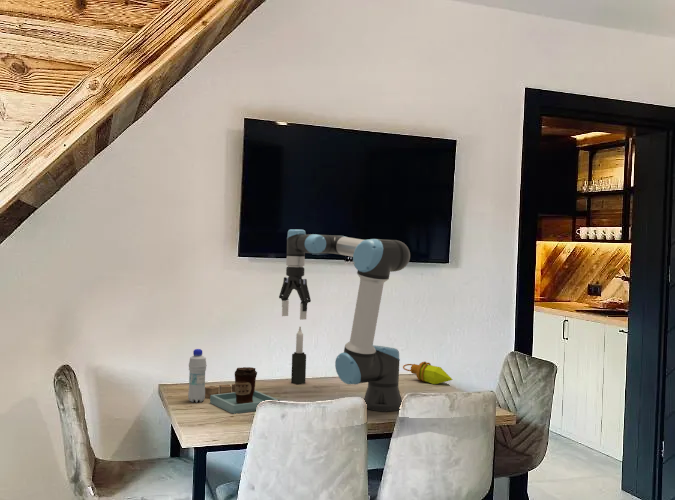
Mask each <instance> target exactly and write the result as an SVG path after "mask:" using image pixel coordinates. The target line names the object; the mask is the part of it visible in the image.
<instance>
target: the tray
mask: <svg viewBox="0 0 675 500" xmlns="http://www.w3.org/2000/svg"><path fill="white" fill-rule="evenodd" d="M209 400H210V401H209V403H210V404H211V405H213V406H216V407H218V408H219V409H222V410H224V411H227V412H228V413H230V414H232V413H233V414H232V415H237V414H236V413H238V414H245V413H250V412H251V413H253V412H256V411H255V410H256V407H257V405H258V404H259V403H260V402H262V401H265V400H278V401H279V402H280V399H278V398H276V397H273V396H271V395H268V394H265V393H264V392H261V391H258V390H256V389H255V391H254V393H253V402H252V403H244V404H239V403H236V393H235V392H233V393H232V392H231V393H224V394H215V395H210V398H209ZM234 413H235V414H234Z"/></svg>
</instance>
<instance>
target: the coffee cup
mask: <svg viewBox="0 0 675 500" xmlns="http://www.w3.org/2000/svg"><path fill="white" fill-rule="evenodd" d="M257 375H258V371H257V370H256V368H255V367H249V366H247V367H246V366H245V367H237V368H236V369H235V371H234V384H235V393H236V403H239V404H244V403H252V402H253V393H254V391H255V390H256V389H255V388H256V381H257V380H256V378H257Z"/></svg>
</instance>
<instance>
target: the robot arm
mask: <svg viewBox="0 0 675 500" xmlns="http://www.w3.org/2000/svg"><path fill="white" fill-rule="evenodd" d="M306 254H334V255H341V256H346V257H347V256H348V257H351V258H352V262H353V263H354V264H353V265H354V268H355V269H356V270H357V271H356V274H357V276H358V278H359V285H358V292H357V296H356V297H357V298H356V303H355V309H354V315H353V321H352V326H351V334H350V338H349V341H348V342H346V343H345V344H344V349H343V352H341V353H339V354H338V355H337V356H336V358H335V362H334V363H335V365H334V366H335V372H336V374H337V375H338V378H339V380H340V381H342V383H344V384H345V385H346V384H347V385H359V384H365V383H367V388H366V390H365V394H364V397H363V399H364V400H365V402H366V404H367V408H368V409H367V410H370V411H375V412H397V411H400V410H399V407H400V405H401V402H402V403H403V400H402V396H401V392H400V388H399V380H400V378H399V377H400V361H401V358H400V352H399V350H398V348H396V347H389V346H384V345H374V340H375V335H376V329H377V323H378V319H379V318H378V317H379V313H380V306H381V301H382V294H383V288H384V285H385V283H386V282H387V281H388V280H390V274H391V273H392V272H398V271H399V272H400V271H402V270H403V269H404V268H406V266H408V264H409V263H410V259H411V252H410V249H409V247H408V246H407V244H405V242H402V241H400V240H397V239H380V238H370V239H361V238H355V237H348V236H344V235H339V234H338V235H335V234H334V235H331V234H330V235H329V234H316V233H315V234H314V233H312V234H311V233H310V234H309V233H308V234H307V233H306V230H304V229H288V231H287V237H286V268H285V269H286V270H285V271H286V272H285V275H286V276H285V277H283V283H282V286H281V289H280V293H279V295H278V298H279V299H280V300H281V317H288V316H289V307H290V305H289V303H290V302H289V297H290V296H291V293H292V292H293V290H295V291H296V292H297V295H298V297H299V300H300V304H299V307H300V308H299V320H307V316H308V315H307V313H308V304H309V303H311V301H312V300H311V296H310V292H309V288H308V280H307V278H303V277H304V276H305V267H304V266H305V260H306V259H305V258H306V257H305V256H306ZM287 276H288V277H287Z"/></svg>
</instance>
